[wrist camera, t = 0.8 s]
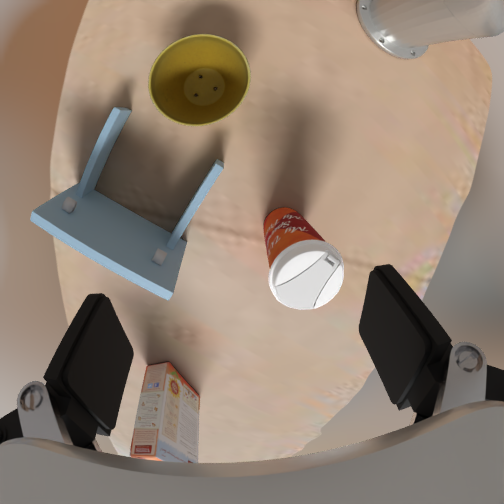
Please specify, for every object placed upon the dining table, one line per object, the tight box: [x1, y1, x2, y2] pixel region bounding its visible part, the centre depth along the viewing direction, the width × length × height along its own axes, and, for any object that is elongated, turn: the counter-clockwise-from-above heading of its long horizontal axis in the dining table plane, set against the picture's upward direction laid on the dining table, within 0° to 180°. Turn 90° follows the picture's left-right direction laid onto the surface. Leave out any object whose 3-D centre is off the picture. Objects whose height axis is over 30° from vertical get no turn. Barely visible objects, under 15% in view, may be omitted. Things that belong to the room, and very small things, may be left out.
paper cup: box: [264, 207, 344, 310], centre depth 32 cm, size 8×8×14 cm
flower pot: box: [148, 34, 251, 126], centre depth 25 cm, size 10×10×7 cm
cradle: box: [31, 107, 224, 301], centre depth 28 cm, size 13×18×12 cm
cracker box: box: [130, 362, 200, 463], centre depth 43 cm, size 14×6×21 cm, turn 18°
